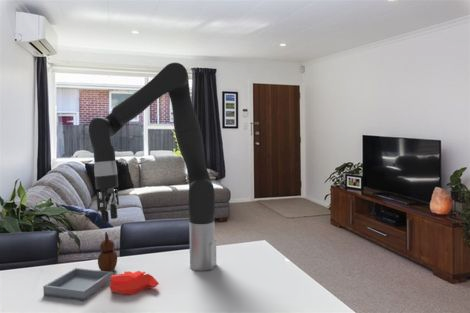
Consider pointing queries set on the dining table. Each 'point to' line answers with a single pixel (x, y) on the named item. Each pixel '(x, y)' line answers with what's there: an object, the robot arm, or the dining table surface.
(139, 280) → the animal figurine
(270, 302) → the dining table surface
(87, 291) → the slate dish
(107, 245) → the wooden figurine
